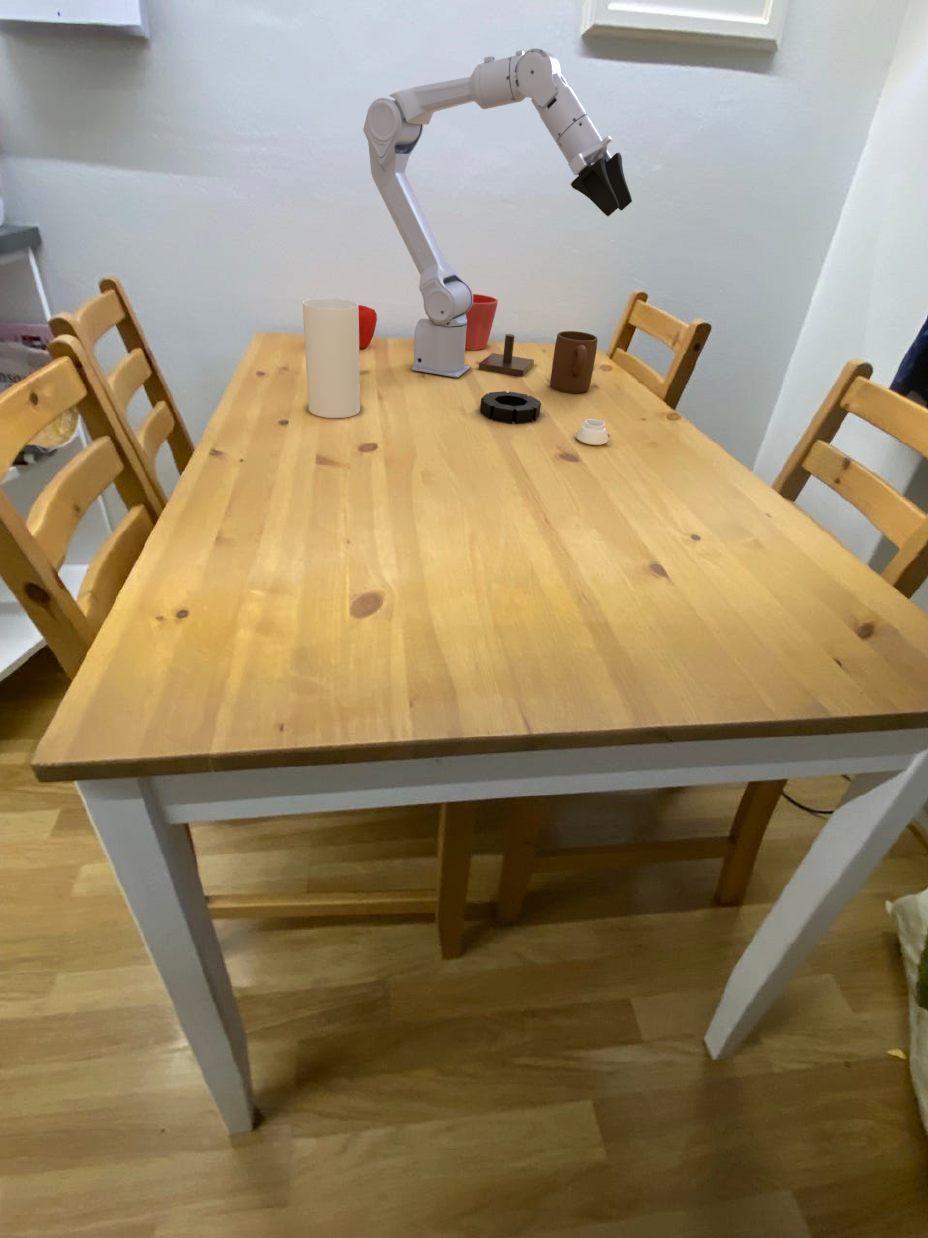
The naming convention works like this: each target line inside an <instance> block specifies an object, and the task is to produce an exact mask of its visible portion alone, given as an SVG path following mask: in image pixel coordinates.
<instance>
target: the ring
mask: <svg viewBox="0 0 928 1238" xmlns="http://www.w3.org/2000/svg"><path fill="white" fill-rule="evenodd" d="M541 408H542V402H541V401H540V400H539V399H537V398H535V397H534V396H532V395H528V394H527V393H521V392H515V391H508V392H507V391H506V390H503V391H492V392H489V393H485V394H484V395H483V396H482V397H481V398H480V407H479V412H480V414H481V415H483V416H484V417H486V418H487V419H488V420H492V421H495V422H500V423H505V424H509V425H510V424H515V425H519V424H528V423H533V422H536V421H537V419H539V417H540V414H541Z"/></svg>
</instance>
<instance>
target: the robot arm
mask: <svg viewBox="0 0 928 1238" xmlns="http://www.w3.org/2000/svg"><path fill="white" fill-rule="evenodd" d="M388 96H389V97H391V98H393V99H391V98H387V97H379V98H377V99H374V101H372V103H370V105H369V107H368V109H367V112H366V116H365V120H364V125H363V128H362V130H363V131H362V132H363V133H364V135H365V137H366V140H367V145H368V154H369V165H370V174H371V177H372V179H373V181H374V184H375V186H376V188H377V189H378V192H379V194H380V196H381V198H382V200H383V202H384V204H385V206H386V208H387V210H388V212H389V214H390V216H391V218H392V220H393V222H394V224H395V226H396V228H397V230H398V233H399V235H400V237H401V239H402V241H403V243H404V245H405V247H406V249H407V251H408V253H409V255H410V257H411V259H412V261H413V263H414V265H415V268H416V270H417V271H418V273H419V275H420V279H419V284H418V289H419V292H420V293H421V296H422V299H423V309H424V312H425V314H426V316H427V318H419V319H418V321H417V323H416V325H415V329H414V335H413V337H414V338H413V366H412V367H411V370H412V371H416V372H419V373H420V372H421V373H425V374H426V373H428V374H433V375H439V376H443V377H444V376H445V377H449V378H456V379H457V378H460V377H461V376H463V374H465V373H466V372H467V371H468V370H470V369H471V365H469V364H465V358H466V357H465V356H466V355H465V354H466V349H465V343H466V328H467V318H466V313H467V312H468V311H469V310H470V309H471V307H472V304H473V294H474V293H473V290H472V288H471V286H470V285H469V284H468V283H467V282H466V281H464V279H463V278H461V276H460V274H459V271H458V270H457V269H456V268H455V267H454V266H453V265H452V264H451V263H449V262H448V260H447V258H446V257H445V254H444V253H443V250H442V248H441V246H440V244H439V242H438V240H437V237H436V235H435V233H434V231H433V229H432V227H431V225H430V223H429V221H428V219H427V217H426V215H425V213H424V210H423V207H422V206H421V204H420V202H419V199H418V197H417V196H416V193H415V191H414V188H413V187H412V185H411V183H410V181H409V179H408V176H407V175H406V169H407V166H408V162H409V158H410V156H411V155H412V153H413V151H414V150H415V148H416V146H417V144H418V142H419V141H420V140H421V137H422V135H423V132H424V125H425V126H426V125H427V126H428V125H429V124H430V121H431V119H432V117H433V114H434V113H435V112H440V111H443V110H447V109H450V108H454V107H459V106H462V105H465V104H469V103H473V102H475V103H476V104H477V105H478V106H479V107H480V108H481V109H482V110H488V109H492V108H497V107H501V106H507V105H511V104H515V103H521V102H523V101H524V100H525V99H526V98H527V99H528V98H530V99H531V100H530V101H531V103H532V104H533V106H534V108H535V110H536V112H537V113H538V114H539V117H540V119H541V121H542V122H543V124H544V125H545V128H546V129H547V130H548V133H549V134H550V136H551V137H552V139H553V141H554V142H555V143H556V145H557V147H558V148H559V150H560V151H561V153H562V155H563V156H564V158H565V160H566V162H567V163H568V164H567V165H568V166H569V168H570V170H571V172H572V173H573V175H574V176H576V177H575V179H573V180H572V182H571V183H570V186H571V188H572V189H573V190H576V191H577V192H579V193H581V194H582V195H584V196H585V197H586V198H588V199H589V200H590V201H591V202H592V203H593V204H595V206H596V207H597V208H598V209H599V210H600V211H601V212H602V213H603V214H604V215H605V216H606V217H610V216H611V215H612V214H613V213H614V212H615V211H617V210H620V211H623V210H625V208H626V207H628V206H629V205H630V204H631V203H632V202H633V200H632V195H631V193H630V190H629V186H628V183H627V180H626V177H625V173H624V168H623V157H622V154H621V152H616V153H614V154H613V155H612V154H610V152H609V150H608V145H609V144H610V143H611V142H612V141H613V139H612V137H611V135H607V136H605V137H604V138H602V137H601V135H600V134H599V132H598V130H597V128H596V127H595V125H594V124H593V122H592V120H591V118H590V117H589V115H588V113H587V112H586V110H585V108H584V107H583V105H582V103H581V102H580V100H579V98H578V97H577V95H576V94H575V92H574V90H573V88H572V87H570V86H569V84H568V83H567V80H566V78H565V77H564V76H563V74H562V68H561V65H560V62H559V60H558V59H557V57H556V56H555V55H554V54H553V53H550V52H548V51H546V50H544V49H542V48H530V49H528V50H526V51H524V50H522V49H520V50H516V51H515V55H511V56H508V57H503V58H499V59H496V57H494V56H492V55H489V56H486V57H484V58H483V62H482V63H478V64H477V65H476V66H475V68H474V69H473V71H472V73H471V75H470V76H467V77H462V78H456V79H451V80H446V81H441V82H440V81H439V82H434V83H429V84H423V85H418V86H413V87H410V88H407V89H402V90H399V91H395V92H392V93H391V94H389V95H388ZM611 155H612V156H611Z"/></svg>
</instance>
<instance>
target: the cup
mask: <svg viewBox="0 0 928 1238" xmlns="http://www.w3.org/2000/svg"><path fill="white" fill-rule="evenodd" d="M358 305H359V303H358V302H357V301H354V300H351V299H345V298H337V297H313V298H307V299H304V300H303V301H302V319H303V336H304V352H305V353H304V354H305V370H306V371H305V372H306V387H307V405H308V406H307V407H308V411H309V413H311V414H312V415H314V416H317V417H321V418H326V419H327V418H328V419H344V418H350V417H354V416H356V415H358V414H359V413H360V412H361V382H360V381H361V379H360V378H361V377H360V373H361V372H360V348H359V307H358Z"/></svg>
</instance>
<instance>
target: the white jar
mask: <svg viewBox="0 0 928 1238" xmlns="http://www.w3.org/2000/svg"><path fill="white" fill-rule="evenodd" d="M605 426H606V424H605V422H604V421H602V420H599V419H595V418H593V419H586V420H585V421H584V422H583V424H582V425H580V428H579V429H578V430H577V432H576V433H575V439H576V440H578V441H579V442H581V443H583V444H585V445H590V446H600V445H604V444H607V443H608V442H609V440H610V439H609V434H608V431H607V427H605Z"/></svg>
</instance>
